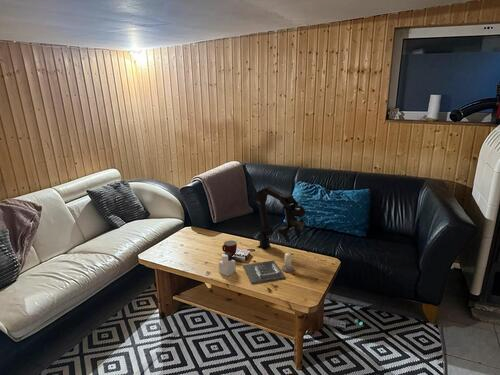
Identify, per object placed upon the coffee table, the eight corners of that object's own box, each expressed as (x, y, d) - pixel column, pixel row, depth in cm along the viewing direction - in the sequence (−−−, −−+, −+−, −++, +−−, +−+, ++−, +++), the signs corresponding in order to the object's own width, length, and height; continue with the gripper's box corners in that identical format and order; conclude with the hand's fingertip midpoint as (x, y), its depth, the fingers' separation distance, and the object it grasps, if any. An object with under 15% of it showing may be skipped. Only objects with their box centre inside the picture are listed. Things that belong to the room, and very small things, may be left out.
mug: (218, 257, 209) (218, 243, 207) (225, 252, 216) (224, 238, 214) (233, 261, 205) (232, 246, 202) (239, 255, 212) (238, 241, 209)
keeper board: (251, 284, 180) (251, 280, 179) (242, 266, 198) (242, 262, 198) (285, 278, 185) (285, 274, 184) (273, 261, 203) (273, 258, 203)
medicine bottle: (227, 267, 197) (226, 249, 194) (235, 271, 193) (235, 253, 190) (218, 272, 192) (218, 254, 189) (227, 276, 188) (227, 257, 184)
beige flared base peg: (279, 269, 194) (279, 254, 192) (286, 265, 199) (286, 250, 196) (289, 273, 190) (289, 258, 187) (296, 269, 195) (296, 254, 192)
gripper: (289, 220, 187) (293, 246, 188) (310, 213, 198) (313, 237, 200) (275, 219, 195) (279, 244, 197) (296, 212, 207) (300, 235, 209)
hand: (293, 240), depth 200 cm, fingers open, 9 cm apart
